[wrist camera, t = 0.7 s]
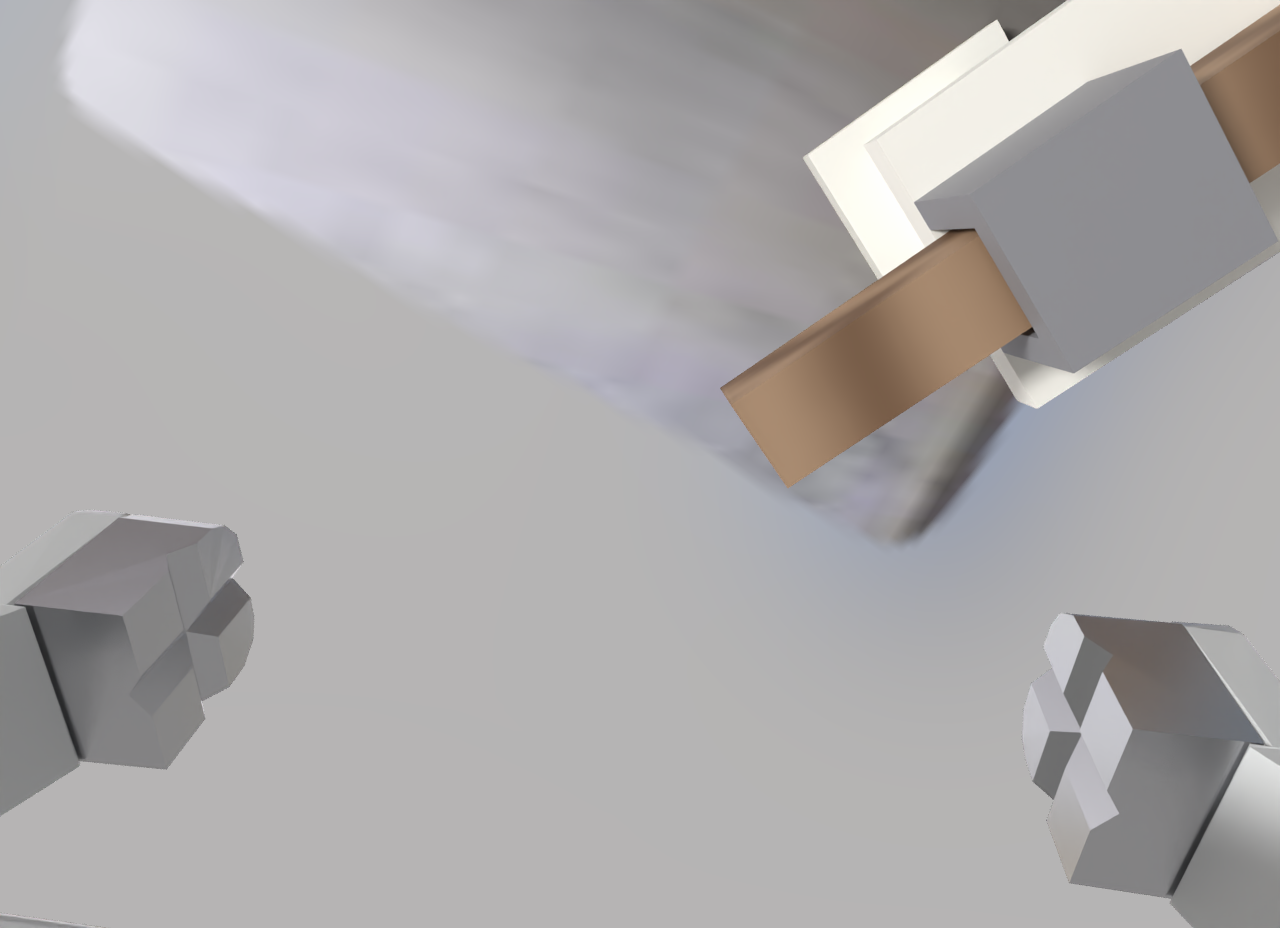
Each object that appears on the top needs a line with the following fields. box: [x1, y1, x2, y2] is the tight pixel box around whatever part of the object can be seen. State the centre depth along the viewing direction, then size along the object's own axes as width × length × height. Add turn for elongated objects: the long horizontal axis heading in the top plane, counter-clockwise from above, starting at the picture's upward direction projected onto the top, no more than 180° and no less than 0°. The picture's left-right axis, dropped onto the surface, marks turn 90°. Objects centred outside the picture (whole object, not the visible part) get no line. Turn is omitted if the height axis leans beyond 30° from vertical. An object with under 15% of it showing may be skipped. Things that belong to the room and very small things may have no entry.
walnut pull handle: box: [720, 5, 1280, 488], centre depth 26 cm, size 20×3×3 cm, turn 125°
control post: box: [803, 0, 1280, 409], centre depth 37 cm, size 15×10×30 cm, turn 125°
